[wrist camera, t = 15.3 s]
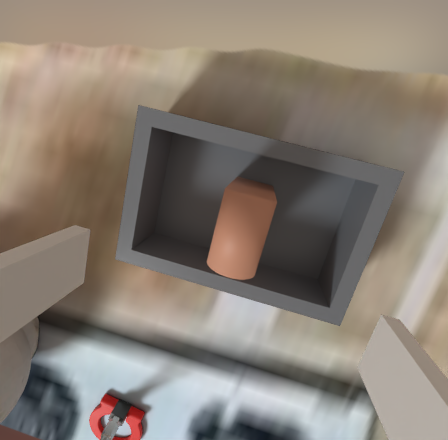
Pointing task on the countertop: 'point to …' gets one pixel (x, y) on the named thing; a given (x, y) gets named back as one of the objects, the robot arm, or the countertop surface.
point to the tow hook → (116, 419)
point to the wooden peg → (241, 228)
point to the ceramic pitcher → (16, 364)
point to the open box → (281, 221)
